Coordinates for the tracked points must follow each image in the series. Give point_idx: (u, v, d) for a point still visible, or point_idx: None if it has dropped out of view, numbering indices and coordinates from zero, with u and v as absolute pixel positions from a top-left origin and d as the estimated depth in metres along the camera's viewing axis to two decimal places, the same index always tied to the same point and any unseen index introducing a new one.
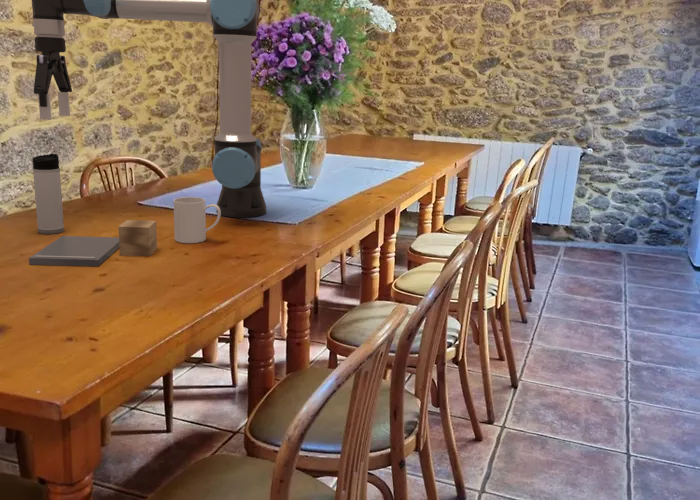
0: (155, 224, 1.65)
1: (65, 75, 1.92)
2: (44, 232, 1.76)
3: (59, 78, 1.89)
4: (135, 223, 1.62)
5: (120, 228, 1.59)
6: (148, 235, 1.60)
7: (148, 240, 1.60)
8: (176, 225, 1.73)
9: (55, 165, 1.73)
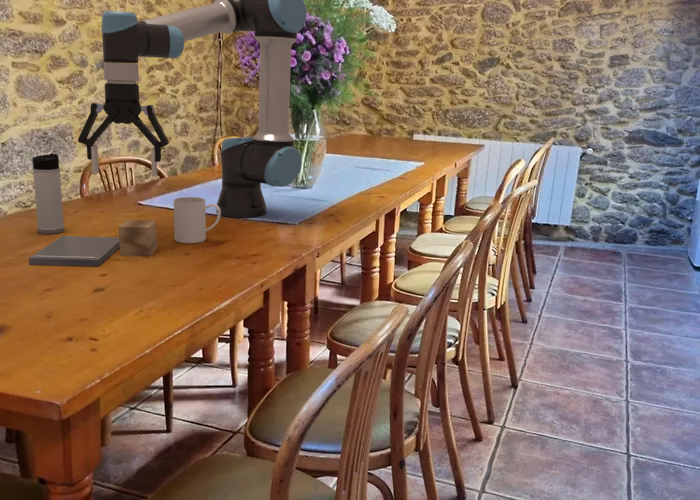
0: (155, 224, 1.65)
1: None
2: (44, 232, 1.76)
3: None
4: (135, 223, 1.62)
5: (120, 228, 1.59)
6: (148, 235, 1.60)
7: (148, 240, 1.60)
8: (176, 225, 1.73)
9: (55, 165, 1.73)
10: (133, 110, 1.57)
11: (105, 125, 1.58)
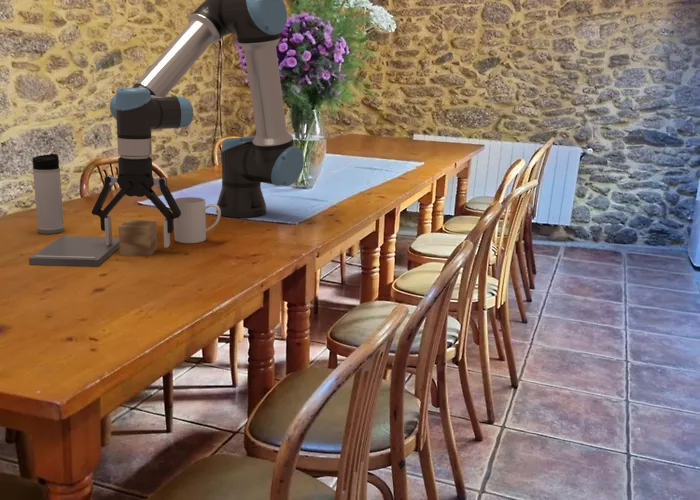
0: (155, 224, 1.65)
1: None
2: (44, 232, 1.76)
3: None
4: (135, 223, 1.62)
5: (120, 228, 1.59)
6: (148, 235, 1.60)
7: (148, 240, 1.60)
8: (176, 225, 1.73)
9: (55, 165, 1.73)
10: (146, 183, 1.59)
11: (118, 198, 1.59)
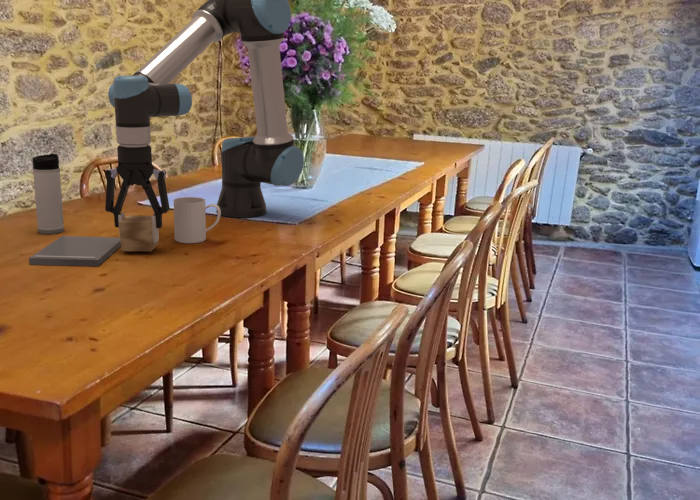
0: None
1: None
2: (44, 232, 1.76)
3: None
4: (136, 218, 1.63)
5: (121, 224, 1.59)
6: (149, 230, 1.60)
7: (149, 235, 1.60)
8: (176, 225, 1.73)
9: (55, 165, 1.73)
10: (145, 171, 1.58)
11: (124, 190, 1.59)
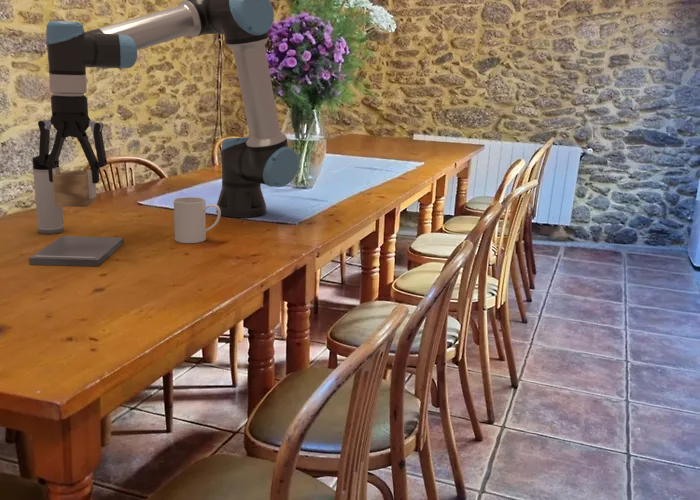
0: None
1: None
2: (44, 232, 1.76)
3: None
4: (71, 173, 1.56)
5: (54, 177, 1.52)
6: (84, 184, 1.53)
7: (84, 189, 1.53)
8: (176, 225, 1.73)
9: None
10: (80, 122, 1.52)
11: (58, 142, 1.52)
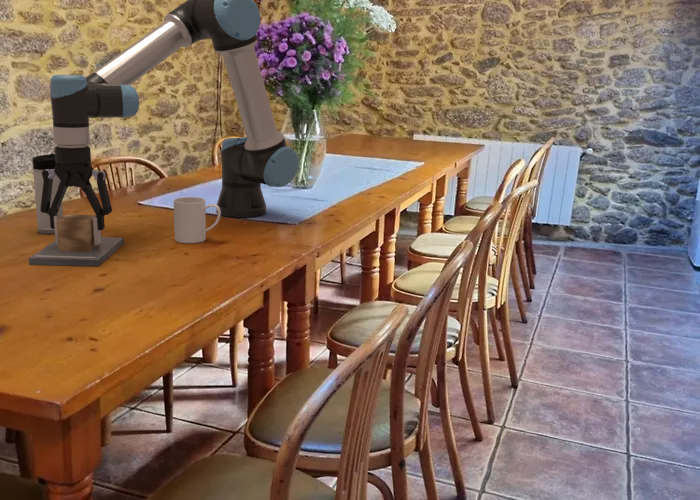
0: None
1: None
2: (44, 232, 1.76)
3: None
4: (75, 217, 1.59)
5: (58, 222, 1.55)
6: (87, 229, 1.56)
7: (87, 235, 1.56)
8: (176, 225, 1.73)
9: (55, 165, 1.73)
10: (84, 173, 1.55)
11: (61, 191, 1.55)
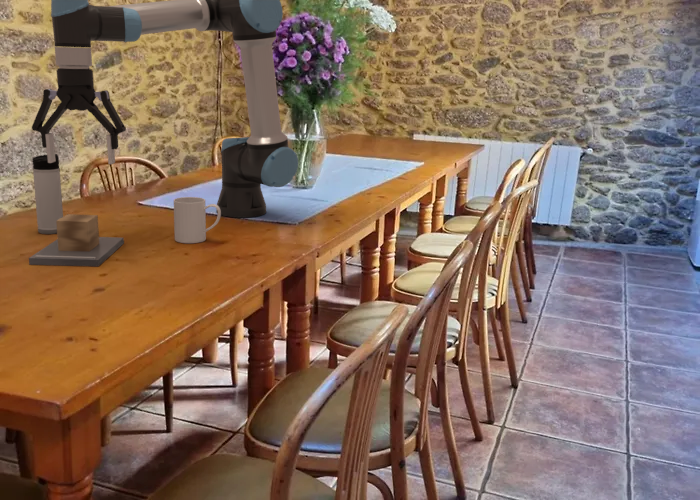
0: (96, 218, 1.62)
1: None
2: (44, 232, 1.76)
3: None
4: (75, 217, 1.59)
5: (58, 222, 1.55)
6: (87, 229, 1.56)
7: (87, 235, 1.56)
8: (176, 225, 1.73)
9: (55, 165, 1.73)
10: (87, 96, 1.53)
11: (59, 112, 1.53)
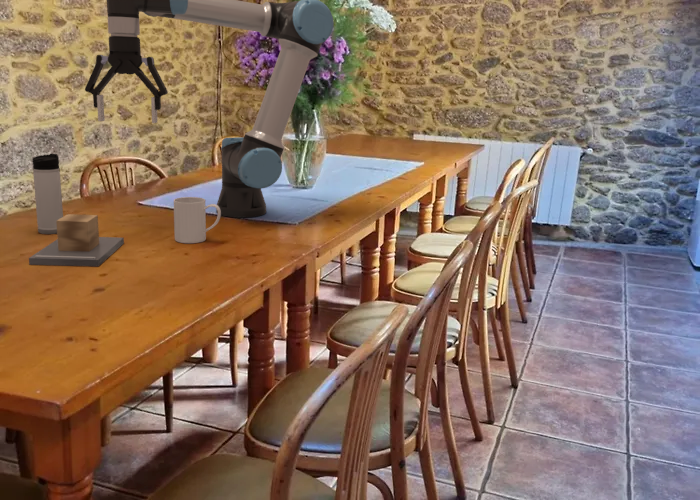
0: (96, 218, 1.62)
1: None
2: (44, 232, 1.76)
3: None
4: (75, 217, 1.59)
5: (58, 222, 1.55)
6: (87, 229, 1.56)
7: (87, 235, 1.56)
8: (176, 225, 1.73)
9: (55, 165, 1.73)
10: (134, 61, 1.72)
11: (109, 75, 1.72)
